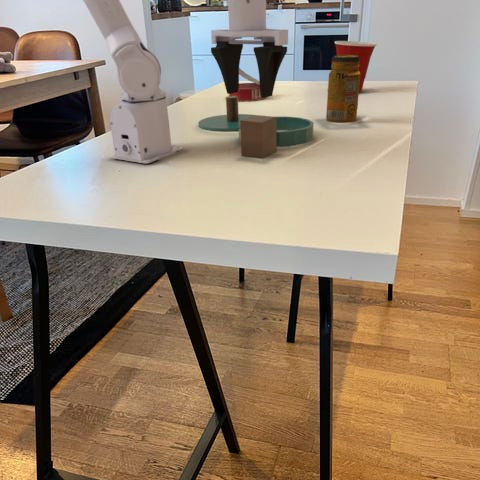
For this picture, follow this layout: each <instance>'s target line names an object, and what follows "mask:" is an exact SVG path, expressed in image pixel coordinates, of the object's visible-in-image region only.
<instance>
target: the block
mask: <svg viewBox="0 0 480 480" xmlns="http://www.w3.org/2000/svg"><path fill="white" fill-rule="evenodd" d="M253 115H254V116H251V117H248V118H246V119H243V120H240V130H241V141H240V147H241V148H240V155H241V157H244V158H245V157H246V158H253V159H260V160H264V159H266V158H267V157H270V156H271V155H273V154H276V153H277V147H276V134H277V132H278V130H277V117H278V116H272V115H271V116H270V115H261V114H260V115H259V114H253Z"/></svg>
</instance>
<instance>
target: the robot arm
mask: <svg viewBox="0 0 480 480" xmlns="http://www.w3.org/2000/svg"><path fill="white" fill-rule="evenodd" d="M82 1H83V2H84V4H85V6H86V8H87V9H88V11H89V13H90V15H91V17H92V18H93V20H94V22H95V24H96V26H97V28H98V30H99V31H100V33H101V35H102V37H103V38H104V40H105V43H106V45H107V48H108V51H109V53H110V56H111V58H112V59H113V62H114V63H115V66H116V70H117V79H118V82H119V85H120V87H121V89H122V90H123V91H124V92H122V93H121V94H120V99H121V100H120V102H119V103H118V104H115V105H114V106H113V107H112V108H111V110H110V112H109V126H110V131H111V137H112V143H113V149H114V154H113V155H112V159H115V160H120V161H121V160H122V161H127V162H133V163H140V164H145V165H146V164H150V163H153V162H155V161H158V160H159V159H161V158H164V157H167V156H169V155H172V154H174V153H177V152H179V150H182V149H183V147H181V146H174V145H172V137H171V129H170V128H171V127H170V119H169V112H168V102H167V93H166V92H165V91H163V90H162V89H161V88H160V84H161V78H162V77H161V76H162V68H161V64H160V63H161V62H159V59H158V58H157V56H156V55H155V54H154V53H153V52H152V51H150V50H149V49H148V48H147V47H146V46H145V44H144V43H143V41H142V39H141V37H140V35H139V34H138V32H137V30H136V29H135V27H134V26H133V24H132V22H131V20H130V18H129V15H128V13H127V12H126V10H125V8H124V7H123V4H122V3H121V0H82ZM227 8H228V29H211V30H210V37H211V44H212V45H215V46H212V47H210V53H211V55H212V56H213V58H214V60H215V62H216V63H217V65H218V69H219V71H220V73H221V76H222V80H223V83H224V87H225V90H226V94H227V95H229V94H232V93H237V92H238V89H239V84H240V74H239V68H240V64H241V57H242V51H243V48H244V45H259V46H254V47H253V53H254V56H255V59H256V64H257V70H258V77H259V78H258V79H259V80H258V81H259V83H260V95H261V97H262V98H264V99H266V98H269V97H273V93H274V89H275V85H276V80H277V76H278V73H279V70H280V68H281V64H282V62H283V61H284V58H285V56H286V54H287V53H288V46H286V45H289V29H277V28H275V29H274V28H267V0H227ZM243 38H253V39H252V40H251V39H243Z"/></svg>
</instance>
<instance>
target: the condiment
mask: <svg viewBox="0 0 480 480" xmlns="http://www.w3.org/2000/svg"><path fill="white" fill-rule="evenodd" d="M359 60H360V57H359V56H357V55H337V54H336V55H333V56H332V58H331V66H330V68H331V70H330V72H329V73H328V82H327V95H326V96H327V100H326V112H325V113H326V114H325V118H326V121H327V122H330V123H336V124H337V123H339V124H342V123H343V124H345V123H352V122H355V121H356V119H357V116H358V115H357V114H358V109H359V108H358V106H359V96H360V95H359V94H360V93H359V85H360V72H359Z"/></svg>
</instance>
